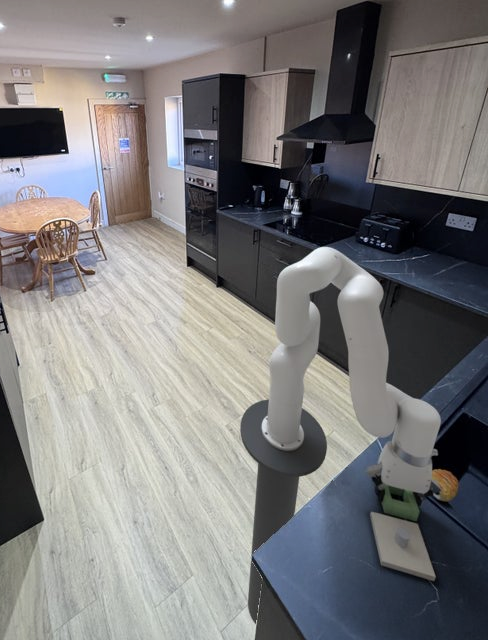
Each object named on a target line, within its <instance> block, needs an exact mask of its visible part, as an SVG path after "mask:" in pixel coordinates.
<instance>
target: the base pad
mask: <svg viewBox="0 0 488 640" xmlns="http://www.w3.org/2000/svg"><path fill="white" fill-rule="evenodd" d="M369 517H370V521H371V527H372V530H373V535H374V540H375V544H376V548H377V553H378V557H379V558H378V559H379V561H380V565H381V566H382V567H386V568H389V569H392V570H394V571H395V570H396V571H399V572H403V573H406V574H409V575H412V576H416V577H419V578H421V579H425V580H428V581H432V582H435V580H436V578H437V576H436V574H435V571H434V568H433V564H432V562H431V559H430V555H429V553H428V550H427V547H426V545H425V544H426V543H425V541H424V537H423V535H422V532H421V529H420V527H419V526H420V525H419V523H416V522H414V521H410V520H405V519H401V518H397V517H393V516H389V515H387V514H382V513H378V512H376V511H375V512H374V511H370V513H369Z"/></svg>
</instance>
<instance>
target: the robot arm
mask: <svg viewBox="0 0 488 640" xmlns="http://www.w3.org/2000/svg"><path fill="white" fill-rule="evenodd" d="M330 284H332V285H333V286H335V287H336V288H337V289H338V290H340V292H339V294H338V297H337V301H336V302H337V309H338V313H339V317H340V318H339V319H340V322H341V326H342V330H343V333H344V338H345V342H346V347H347V351H348V355H347V356H348V357H347V359H348V360H347V362H348V363H347V364H348V380H349V393H350V398H351V402H352V407H353V411H354V415H355V418H356V420H357V421H358V423H359V425H360V427H361V428H362V429H363V430H364V431H365V432H366V433H367V434H369V435H371V436H373V437H376V438H381V439H382V438H388V437H389V436H391V435H392V434H393V435H392V438H391V440H387V442H386V443H385V445H384V446H383V448H382V450H381V452H380V453H379V454H380V455H379V457H378V459H377V463H376V464H373V465H370V466H366V467H365V472H366V474H367V476H368V478H370V479H371V481H372V482H373V483H374V484H375V487H374V493H375V495H376V496H377V497H378V502H379V503H382V502H383V498H384V495H385V489H384V488H386V487H387V486H393V487H396V488H400V489H404V490H409V491H412V492H413V495H414V498H415V500H416V503H417V506H418V509H419V510H420V507H421V506H422V502H423V501H426V500H427V498H428V497H432V496H434V495H433V493H437V492H440V491H441V488H440V485H439V484H438V483H437V482H436V481H435V480H434V479H433V478H432V470H433V459H432V457H433V456H436V457H437V456H438V455H439V452H438V449H436V448H434V447H435V443H436V440H437V438H438V434H439V431H440V428H441V424H442V419H441V415H440V413H439V412H438V410H437V409H436V408H435V407H434V406H432V404H430V403H428V402H426V401H424V400H422V399H419V398H414V397H412V396H410V395H408V394H407V393H405V392H404V391H402V390H401V389H399V388H397V387H396V386H394V385H392V384H390V383H389V382H387V375H388V367H389V366H388V365H389V359H390V358H389V357H390V356H389V354H390V353H389V351H390V350H389V345H388V341H387V336H386V332H385V329H384V324H383V319H382V314H381V310H380V305H381V303H382V300H383V299H384V294H385V293H384V288H383V286H382V284H381V283H380V282H379V281H378V280H377V279H376V278H375V277H374V276H373V275H372V274H370V273H369V272H368V271H367V270H365V269H364V268H363V267H361V266H359V264H357V263H356V262H354V261H353V260H351V259H350V258H349V257H347V256H346V255H345V254H344V253H342V252H340V251H339V250H337V249H335V248H333V247H330V246H321V247H318V248H316V249H313V251H311V252H310V253H309V254H308V255H306V256H304V257H303V258H302V259H301V260H299V261H297V262H295V263H292V264H290V265H288V266H286V267H285V268H283V270H281V271H280V273H279V275H278V277H277V282H276V302H275V318H274V319H275V321H274V329H275V336H276V337H277V339H278V340H279V342H280V343H279V344H278V345H277V346H276V348H275V349H274V351H272V353H271V356H270V357H269V362H268V367H269V375H270V376H269V377H270V379H269V380H270V381H269V392H268V399H269V405H268V416H266V417H265V418H264V420H263V422H262V433H263V436H264V438H265V439H266V440H267V441H268V442H269V443H270V444H271V445H272V446H274V447H275V448H278V449H280V450H285V451H291V450H295V449H297V448H299V447H300V446H301V445H302V443H303V440H304V432H303V429H302V427H301V425H300V419H301V411H302V408H303V403H304V402H303V401H304V394H305V383H304V378H305V374H306V372H307V370H308V369H309V367H310V365H311V364H312V362H313V360H314V359H315V357H316V356H317V353H318V349H319V342H320V332H321V314H320V310H319V309H318V307H317V305H316V303H314V302H312V301H311V296H310V295H311V294H313V293H315V292H318V291H321V290H323V289H325V288H327V287H328V286H329V285H330Z"/></svg>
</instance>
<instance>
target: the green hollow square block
mask: <svg viewBox="0 0 488 640" xmlns="http://www.w3.org/2000/svg"><path fill="white" fill-rule="evenodd" d="M384 489H385V495H384V498H383V502H381V506H382V509H383V513H384V514H386V515H391V516H395V517H399V518H402V519H406V520H409V521H412V522H417V521H418V518H419V515H420V508H419V509H418V506H417V503H416V500H415V498H414V495H413V492H412V491H409V490H404V489H400V488H396V487H393V486H387V487H386V488H384ZM392 495H396V496H400V497H402V500H398V499H395V498H392Z"/></svg>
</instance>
